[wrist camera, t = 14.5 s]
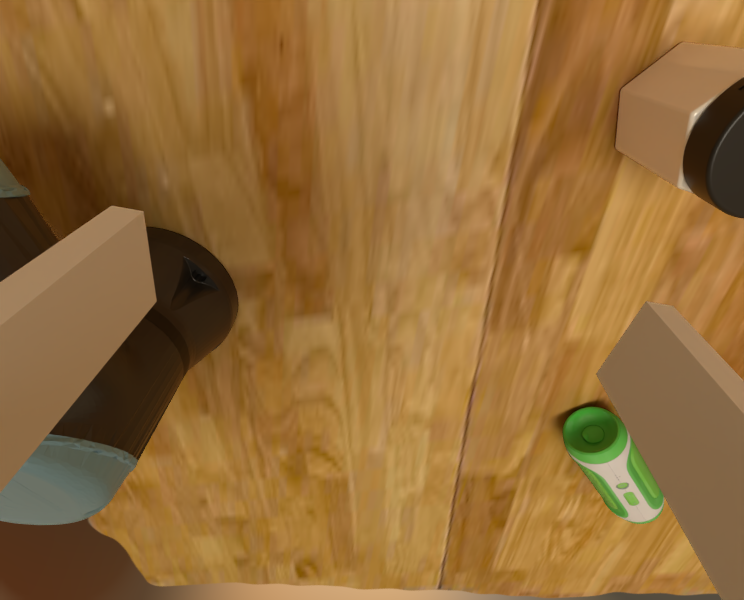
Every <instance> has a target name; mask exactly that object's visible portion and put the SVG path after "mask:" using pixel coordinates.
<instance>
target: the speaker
mask: <svg viewBox="0 0 744 600" xmlns="http://www.w3.org/2000/svg"><path fill="white" fill-rule="evenodd" d="M563 439H564V443H565V446H566V449H567V451H568V453H569V455H570V456H571V457H572V459H573V460H575V461H576V462H577V464H578V465H579V466H580V468H581V469H582V471H583V472H584V473H585V475H586V476H587V477H588V479H589V480H590V481H591V483H592V484H593V485H594V487H595V488H596V490H597V491H598V492H599V494H600V495H601V497H602V498H603V500H604V502H605V504H606V505H607V507H608V508H609V509H610V510H611V511H612V512H613V513H615V514H616V515H617V516H619V517H621V518H622V519H624V520H627V521H629V522H632V523H637V524H644V523H649V522H651V521H653V520H655V519H656V518H658V516H659V515H660V514H661V512H662V510H663V506H664V495H663V493H662V492H661V490H660V488H659V486H658V484H657V483H656V481H655V479H654V477H653V475H652V474H651V472H650V470H649V468H648V466H647V465H646V463H645V461H644V459H643V457H642V456H641V454H640V452H639V450H638V448H637V447H636V445H635V443H634V441H633V439H632V438H631V436H630V434H629V432H628V430H627V429H626V427H625V425H624V423H623V422H622V421H621V420H620V419H619V418H618V417H617V416H616V415H614V414H613V413H611V412H610V411H608V410H606V409H603V408H600V407H585V408H581V409H579V410H577V411H575V412H573V413H572V414H571V415H570V416H569V417H568V418H567V420H566V421H565V423H564V426H563Z"/></svg>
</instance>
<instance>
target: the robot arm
mask: <svg viewBox="0 0 744 600" xmlns="http://www.w3.org/2000/svg"><path fill="white" fill-rule="evenodd" d="M28 195H30V192H29V190H28V189H27V187H24V186H22V185H20V184H19V182H18V181H17V180H16V178H15V177H14V176H13V175H12V173H11V172H10V171H9V169H8V168H7V167H6V165H5V164H4V163H3V161H2V160H1V159H0V521H5V522H12V523H20V524H32V525H55V524H56V525H57V524H67V523H72V522H76V521H80V520H83V519H86V518H88V517H91V516H93V515H94V514H96V513H98V512H99V511H101V510H102V509H103V508H104V507H105V506H106V505H107V504H108V503H109V502H110V501H111V500H112V498H113V497H114V495H115V494H116V492H117V491H118V489H119V488H120V486H121V484H122V483H123V481H124V480H125V478H126V477H127V475H128V474H129V472H131V471H132V470H133V469H134V468H135V467H136V465H137V462H138V460H139V458H140V456H141V454H142V453H143V451H144V449H145V447H146V445H147V443H148V442H149V440H150V438H151V436H152V434H153V432H154V431H155V429H156V427H157V425H158V423H159V421H160V420H161V418H162V416H163V414H164V412H165V410H166V409H167V407H168V405H169V403H170V401H171V399H172V398H173V396H174V394H175V392H176V390H177V388H178V387H179V385H180V383H181V381H182V379H183V378H184V376H185V374H186V372H187V371H188V370H189V369H190V368H191V367H193V366H194V365H195V364H197V363H198V362H199V361H200V360H202V359H203V358H204V357H205V356H206V355H208V354H209V353H210V352H211V351H213V350H214V349H216V348H217V347H218V346H219V345H220V344H221V343H222V342H223V341H224V339H225V338H226V337H227V335H228V333H229V331H230V330H231V328H232V326H233V324H234V322H235V319H236V316H237V312H238V298H237V293H236V290H235V287H234V284H233V282H232V280H231V278H230V276H229V274H228V273H227V271H226V270H225V269H224V267H223V266H222V265H221V264H220V263H219V261H218V260H217V259H216V258H215V257H214V256H213V255H211V254H210V253H209V252H208V251H207V250H205V249H204V248H203V247H201V246H200V245H198V244H197V243H195V242H194V241H192V240H190V239H188V238H186V237H184V236H182V235H179V234H177V233H174V232H171V231H167V230H163V229H158V228H151V227H146V225H145V218H144V211H140V210H134V209H128V208H123V207H117V206H110V207H109V208H107V209H106V210H104V211H103V212H101V213H100V214H99V215H97V216H96V217H94V218H93V219H91V220H90V221H88V222H87V223H85V224H84V225H83V226H81V227H80V228H78V229H77V230H75V231H74V232H72V233H71V234H70V235H68V236H67V237H65V238H64V239H62V240H61V241H58V240H57V238H56V237H55V235H54V234H53V232H52V231H51V229H50V228H49V226H48V225H47V224H46V222H45V221H44V219H43V218H42V216H41V215H40V213H39V212H38V210H37V209H36V207H35V206H34V204H33V203H32V201H31V200H30V198H29V197H28ZM596 375H597V376H598V378H599V380H600V382H601V384H602V385H603V387H604V389H605V391H606V393H607V394H608V396H609V398H610V400H611V402H612V403H613V405H614V407H615V409H616V411H617V412H618V414H619V416H620V418H621V420H622V421H623V423H624V425H625V427H626V429H627V430H628V432H629V434H630V436H631V438H632V439H633V441H634V443H635V445H636V447H637V448H638V450H639V452H640V454H641V456H642V457H643V459H644V461H645V463H646V465H647V466H648V468H649V470H650V472H651V474H652V475H653V477H654V479H655V481H656V483H657V484H658V486H659V488H660V490H661V492H662V493H663V495H664V497H665V499H666V501H667V502H668V504H669V506H670V508H671V510H672V511H673V513H674V515H675V517H676V519H677V520H678V522H679V524H680V526H681V528H682V529H683V531H684V533H685V535H686V537H687V538H688V540H689V542H690V544H691V546H692V547H693V549H694V551H695V553H696V555H697V556H698V558H699V560H700V562H701V563H702V565H703V567H704V569H705V571H706V572H707V574H708V576H709V578H710V580H711V581H712V583H713V585H714V587H715V589H716V590H717V592H718V594H719V596H720V598H721V599H722V600H744V381H743V380H742V379H741V378H740V377H739V376H738V374H737V373H736V372H735V371H734V370H733V369H732V368H731V367H730V366H729V365H728V364H727V363H726V362H725V361H724V360H723V359H722V358H721V356H720V355H719V354H718V353H717V352H716V351H715V350H714V349H713V348H712V347H711V346H710V345H709V344H708V343H707V342H706V341H705V340H704V338H703V337H702V336H701V335H700V334H699V333H698V332H697V331H696V330H695V329H694V328H693V327H692V326H691V325H690V324H689V323H688V321H687V320H686V319H685V318H684V317H683V316H682V315H681V314H680V313H679V312H678V311H677V310H676V309H675V308H674V307H673V306H670V305H664V304H659V303H653V302H648V301H646V302H645V303H644V305H643V306H642V308H641V309H640V311H639V312H638V314H637V315H636V317H635V318H634V319H633V321H632V322H631V324H630V325H629V327H628V328H627V330H626V331H625V333H624V334H623V336H622V337H621V338H620V340H619V341H618V343H617V344H616V346H615V347H614V349H613V350H612V352H611V353H610V355H609V356H608V357H607V359H606V360H605V362H604V363H603V365H602V366H601V368H600V369H599V371H598V372H597V374H596Z"/></svg>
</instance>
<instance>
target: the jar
mask: <svg viewBox="0 0 744 600" xmlns="http://www.w3.org/2000/svg"><path fill="white" fill-rule="evenodd" d="M615 149H616V150H618V151H619V152H621V153H622V154H624V155H626V156H627V157H629V158H630V159H632V160H634V161H635V162H637V163H638V164H640V165H642V166H643V167H645V168H646V169H648V170H650V171H651V172H653V173H654V174H656V175H658V176H659V177H661V178H663V179H664V180H666V181H667V182H669V183H671V184H672V185H674V186H675V187H677V188H679V189H682V190H685V191H688V192H691V193H693V194H695V195H697V196H698V197H700V198H701V199H703V200H704V201H706V202H708V203H709V204H711V205H713V206H714V207H716V208H718V209H719V210H721V211H722V212H724V213H726V214H728V215H731V216H734V217H738V218H744V48H738V47H728V46H719V45H709V44H700V43H691V42H682V43H680V44H678V45H677V46H676V47H675V48H673V49H672V50H671V51H669V52H668V53H667V54H665V55H664V56H663V57H662V58H660V59H659V60H658V61H656V62H655V63H654V64H652V65H651V66H650V67H649V68H647V69H646V70H645V71H643V72H642V73H641V74H640V75H638V76H637V77H636V78H634V79H633V80H632V81H630V82H629V83H628V84H627V85H625V86H624V87H623V88H622V89H621V91H620V100H619V111H618V122H617V132H616V143H615Z"/></svg>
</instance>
